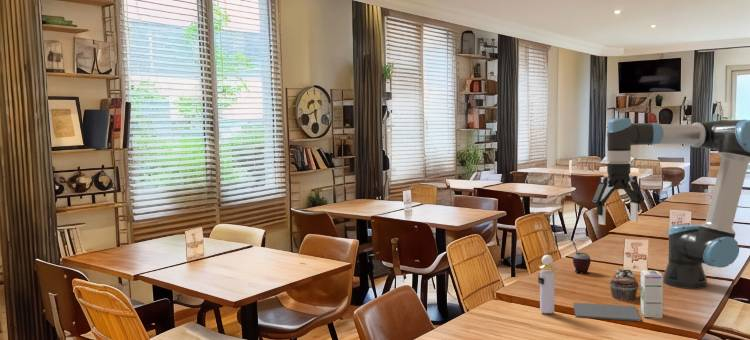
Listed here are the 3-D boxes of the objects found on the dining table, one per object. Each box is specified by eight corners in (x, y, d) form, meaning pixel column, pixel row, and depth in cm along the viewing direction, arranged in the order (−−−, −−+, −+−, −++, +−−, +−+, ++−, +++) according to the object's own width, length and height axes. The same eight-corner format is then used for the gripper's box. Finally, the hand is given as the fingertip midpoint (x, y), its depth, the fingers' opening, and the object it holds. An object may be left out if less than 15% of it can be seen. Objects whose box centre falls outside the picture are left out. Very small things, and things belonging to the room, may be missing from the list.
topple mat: (634, 308, 203) (634, 306, 203) (641, 321, 190) (641, 319, 190) (573, 304, 209) (573, 302, 209) (575, 317, 195) (575, 315, 195)
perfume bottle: (552, 310, 203) (552, 252, 201) (558, 315, 197) (559, 256, 195) (535, 310, 202) (535, 253, 201) (541, 316, 196) (542, 257, 195)
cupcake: (605, 293, 220) (605, 267, 219) (632, 293, 220) (632, 267, 219) (615, 301, 211) (615, 274, 210) (642, 301, 210) (643, 273, 210)
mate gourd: (593, 273, 250) (594, 237, 248) (582, 276, 245) (582, 240, 244) (578, 269, 256) (579, 235, 254) (567, 272, 251) (567, 237, 250)
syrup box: (663, 318, 192) (664, 274, 191) (643, 317, 193) (644, 274, 192) (658, 313, 198) (659, 270, 196) (639, 312, 199) (640, 269, 198)
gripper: (640, 160, 214) (639, 218, 216) (581, 163, 207) (581, 223, 208) (655, 161, 207) (654, 221, 209) (595, 165, 199) (595, 227, 201)
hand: (618, 222), depth 209 cm, fingers open, 13 cm apart
